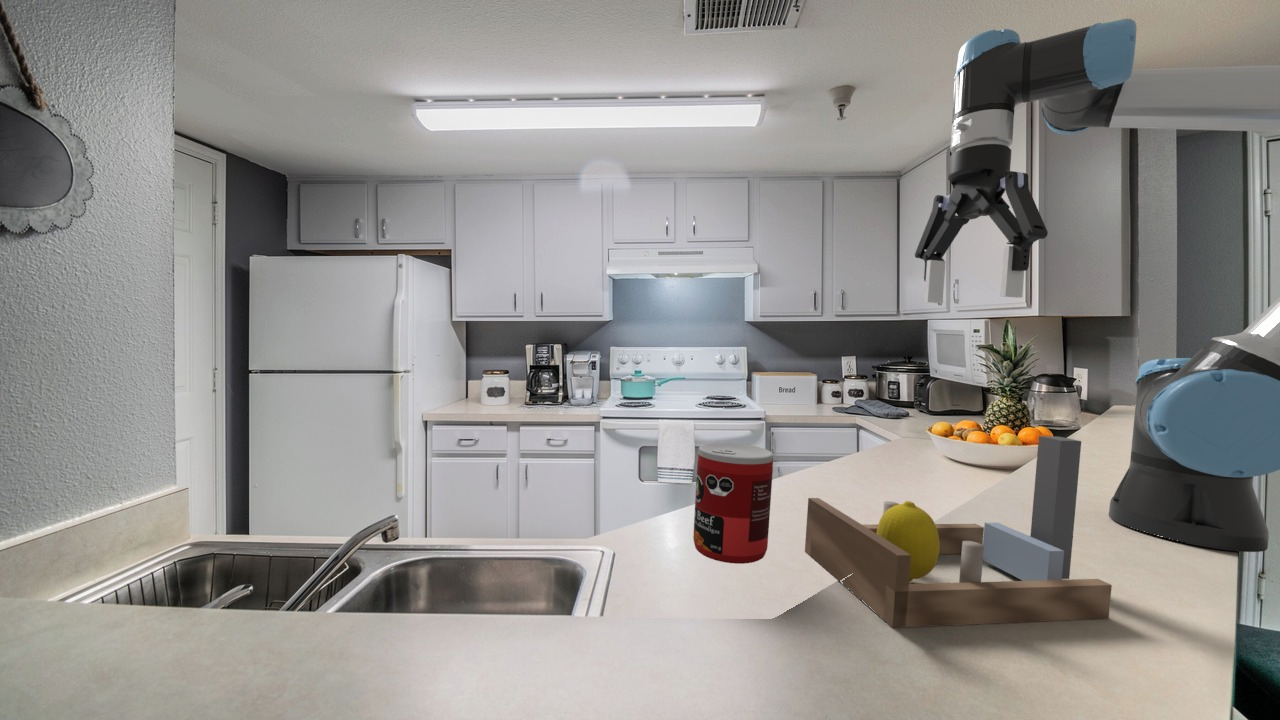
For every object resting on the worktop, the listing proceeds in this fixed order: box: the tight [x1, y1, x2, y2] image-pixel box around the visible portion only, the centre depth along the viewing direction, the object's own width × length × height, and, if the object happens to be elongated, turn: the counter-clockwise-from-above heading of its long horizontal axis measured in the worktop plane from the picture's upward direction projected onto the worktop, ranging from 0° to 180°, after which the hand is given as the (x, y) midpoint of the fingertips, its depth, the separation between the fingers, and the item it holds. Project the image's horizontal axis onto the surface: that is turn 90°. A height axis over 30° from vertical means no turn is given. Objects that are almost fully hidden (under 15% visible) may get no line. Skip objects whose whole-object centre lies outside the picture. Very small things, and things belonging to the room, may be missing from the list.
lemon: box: [876, 500, 940, 583], centre depth 52 cm, size 6×6×8 cm
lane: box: [804, 497, 1113, 629], centre depth 52 cm, size 21×15×6 cm
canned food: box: [692, 442, 774, 565], centre depth 58 cm, size 8×8×11 cm
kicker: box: [983, 435, 1082, 581], centre depth 54 cm, size 6×8×14 cm
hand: (968, 300), depth 77 cm, fingers open, 13 cm apart
